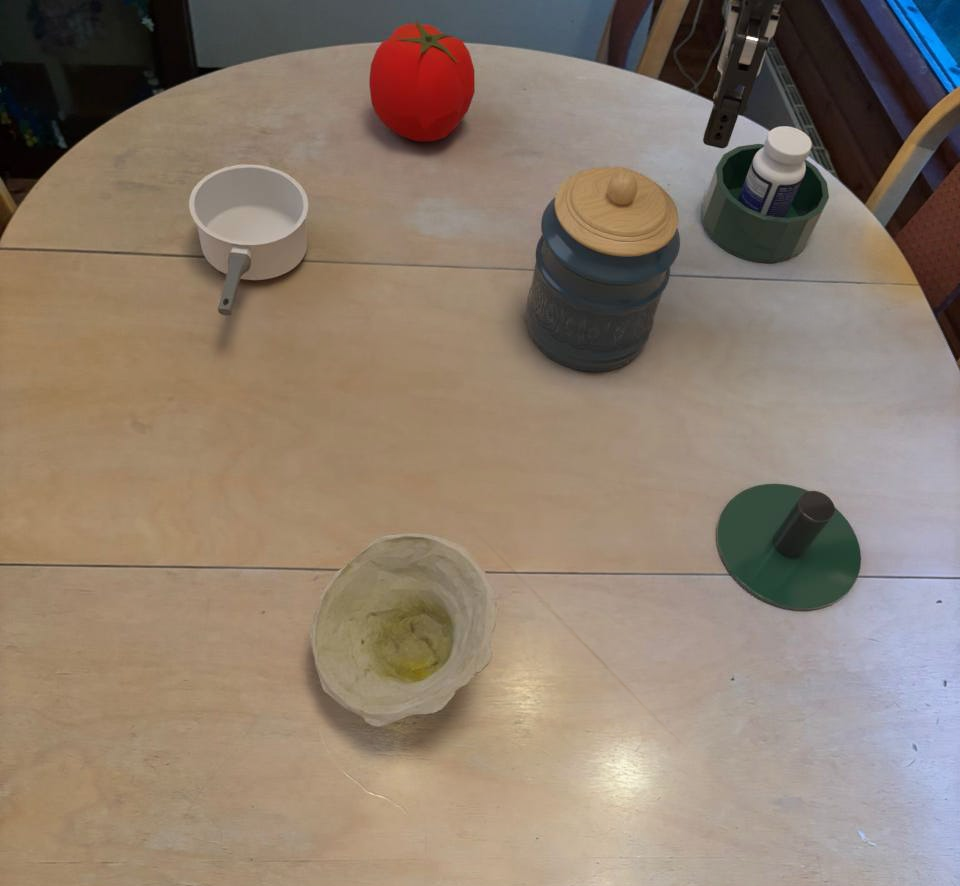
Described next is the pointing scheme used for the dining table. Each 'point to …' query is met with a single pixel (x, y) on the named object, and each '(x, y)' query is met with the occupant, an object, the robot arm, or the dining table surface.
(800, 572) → the lid
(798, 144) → the pill bottle
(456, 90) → the tomato
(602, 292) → the canister
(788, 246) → the pot
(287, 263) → the saucepan
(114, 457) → the dining table surface
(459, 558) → the bowl
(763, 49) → the robot arm
